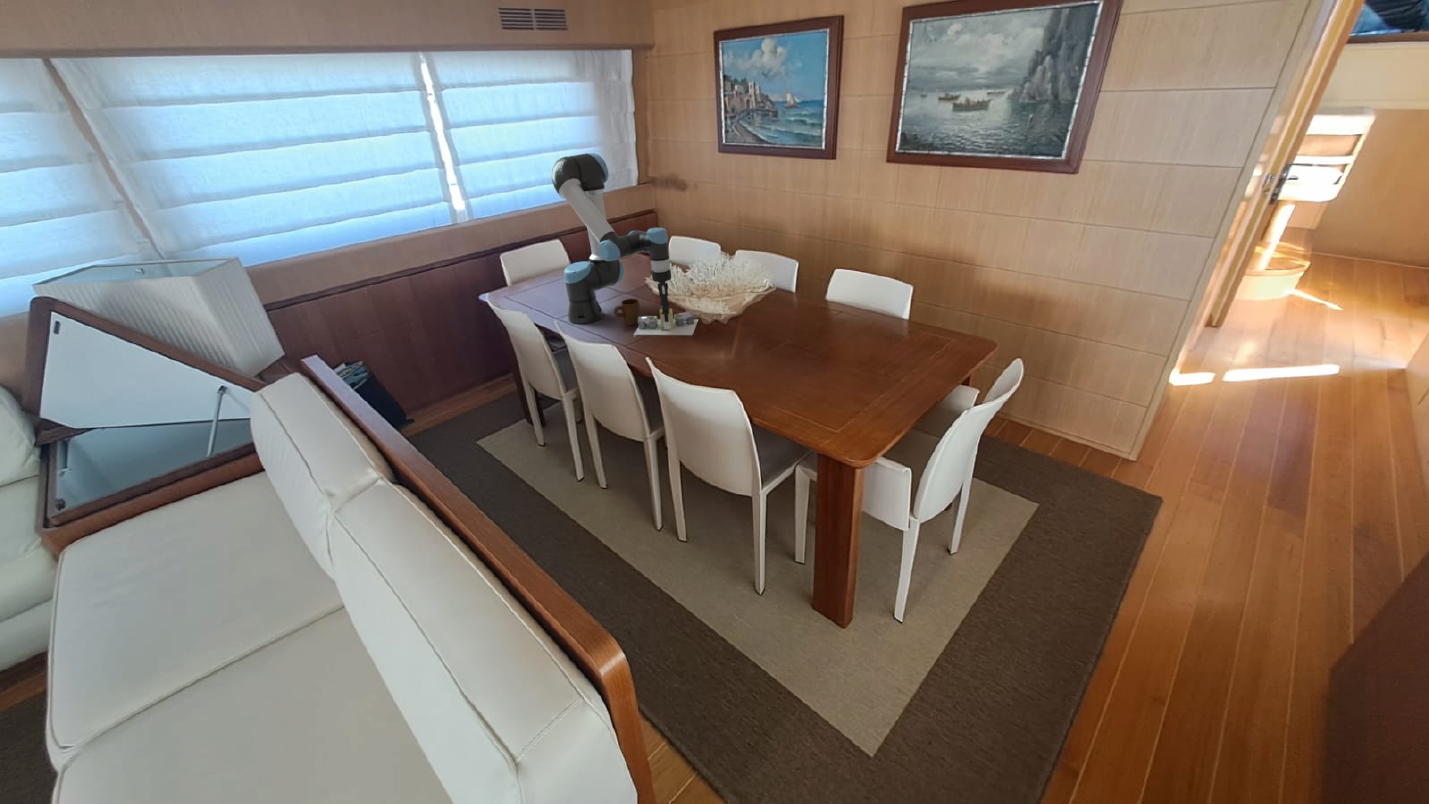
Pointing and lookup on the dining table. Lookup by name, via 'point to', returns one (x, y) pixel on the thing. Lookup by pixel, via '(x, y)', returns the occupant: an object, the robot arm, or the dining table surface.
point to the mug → (629, 311)
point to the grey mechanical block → (647, 322)
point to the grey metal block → (684, 318)
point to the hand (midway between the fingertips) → (666, 324)
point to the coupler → (670, 318)
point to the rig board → (661, 331)
